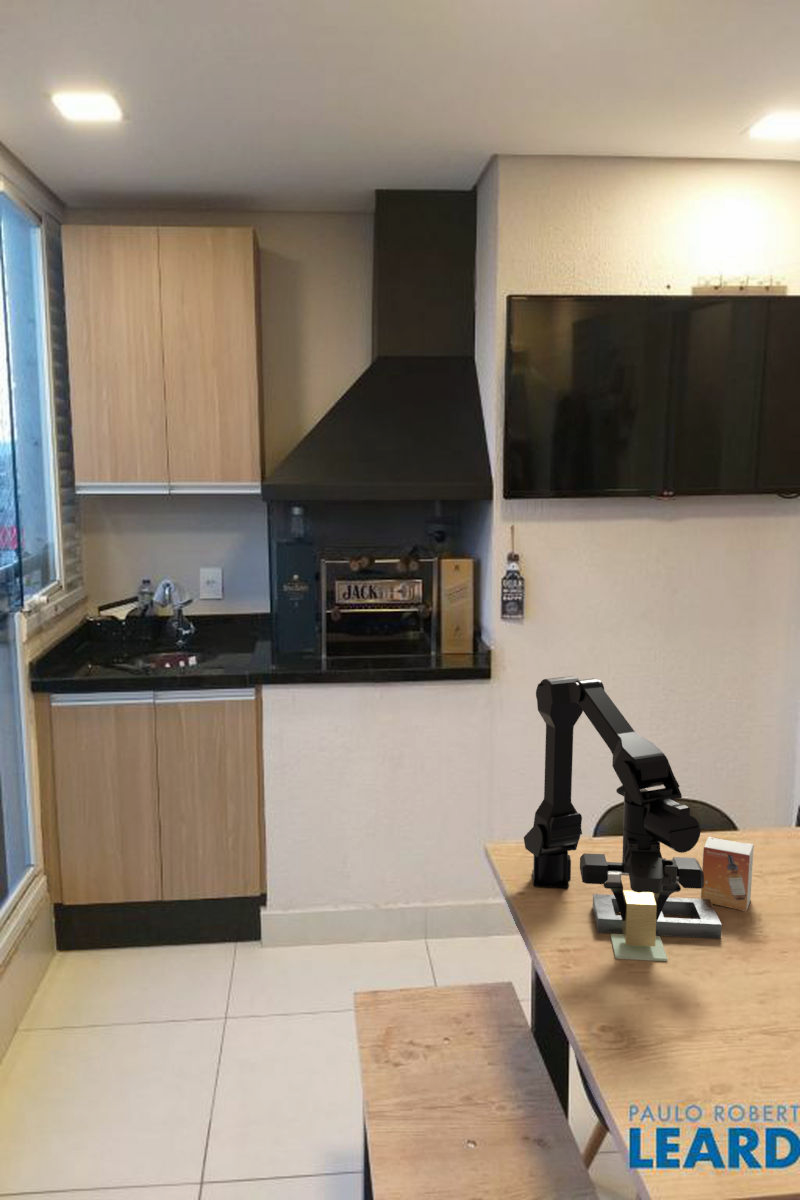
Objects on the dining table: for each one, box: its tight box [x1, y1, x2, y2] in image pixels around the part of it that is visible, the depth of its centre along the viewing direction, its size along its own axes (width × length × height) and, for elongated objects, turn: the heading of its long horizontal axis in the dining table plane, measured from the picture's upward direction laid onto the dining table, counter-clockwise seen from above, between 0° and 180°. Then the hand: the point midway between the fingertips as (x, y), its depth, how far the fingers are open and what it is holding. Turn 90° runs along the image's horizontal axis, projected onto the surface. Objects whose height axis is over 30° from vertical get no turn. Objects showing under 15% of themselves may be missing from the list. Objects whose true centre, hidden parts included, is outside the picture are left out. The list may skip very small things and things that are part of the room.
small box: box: [700, 836, 755, 912], centre depth 162 cm, size 8×6×10 cm
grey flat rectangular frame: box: [592, 893, 723, 940], centre depth 155 cm, size 20×9×2 cm, turn 83°
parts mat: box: [610, 933, 668, 962], centre depth 146 cm, size 8×7×1 cm
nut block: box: [622, 889, 657, 946], centre depth 146 cm, size 5×5×7 cm
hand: (638, 920), depth 146 cm, fingers closed on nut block, 5 cm apart
